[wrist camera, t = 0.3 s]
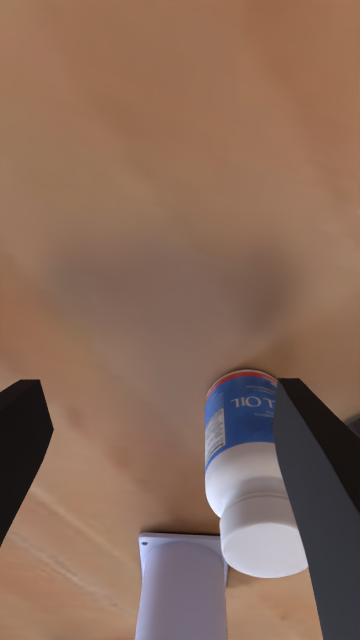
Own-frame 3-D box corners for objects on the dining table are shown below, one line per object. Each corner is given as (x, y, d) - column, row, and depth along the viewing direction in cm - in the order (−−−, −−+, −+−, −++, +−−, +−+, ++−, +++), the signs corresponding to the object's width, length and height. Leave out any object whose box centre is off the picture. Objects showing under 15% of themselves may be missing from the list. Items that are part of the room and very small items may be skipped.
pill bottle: (300, 381, 22) (367, 534, 13) (264, 437, 24) (300, 599, 16) (222, 355, 21) (237, 498, 13) (192, 416, 24) (188, 571, 15)
